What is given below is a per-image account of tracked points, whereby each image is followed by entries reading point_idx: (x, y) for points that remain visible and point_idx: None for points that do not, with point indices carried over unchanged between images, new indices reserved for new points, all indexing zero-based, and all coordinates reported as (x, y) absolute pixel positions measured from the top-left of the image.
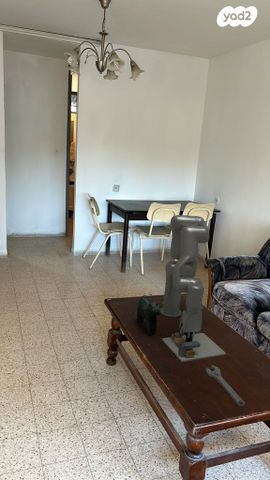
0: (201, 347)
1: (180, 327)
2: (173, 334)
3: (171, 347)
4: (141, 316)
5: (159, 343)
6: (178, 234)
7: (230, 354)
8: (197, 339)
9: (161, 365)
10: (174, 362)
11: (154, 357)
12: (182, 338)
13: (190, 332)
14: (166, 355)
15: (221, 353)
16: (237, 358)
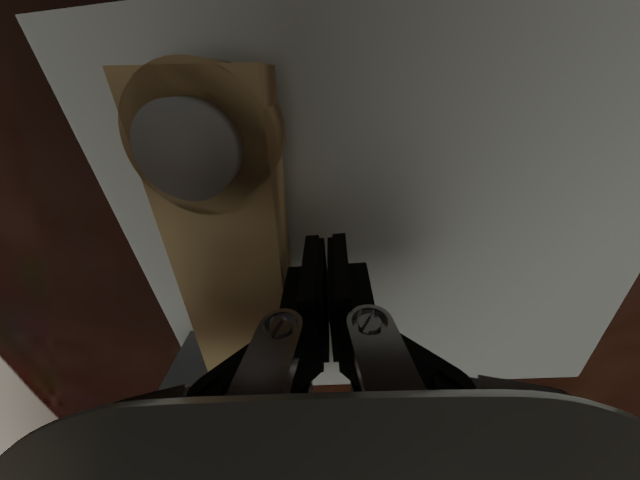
0: (445, 291)
1: (52, 446)
2: (132, 88)
3: (143, 245)
4: None
5: (13, 111)
6: None
7: (605, 367)
8: (531, 139)
9: (69, 379)
10: (156, 371)
11: (6, 313)
12: (261, 234)
13: (363, 358)
14: (102, 307)
15: (539, 375)
16: (600, 401)
